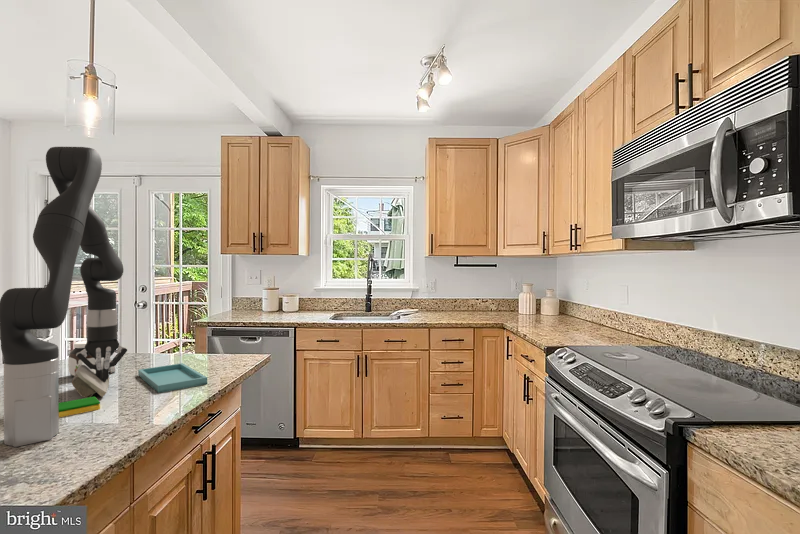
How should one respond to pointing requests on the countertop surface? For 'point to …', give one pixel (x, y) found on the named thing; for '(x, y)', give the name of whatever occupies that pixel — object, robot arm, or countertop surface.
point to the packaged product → (89, 382)
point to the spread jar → (75, 361)
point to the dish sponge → (78, 406)
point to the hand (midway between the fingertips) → (102, 381)
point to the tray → (172, 377)
